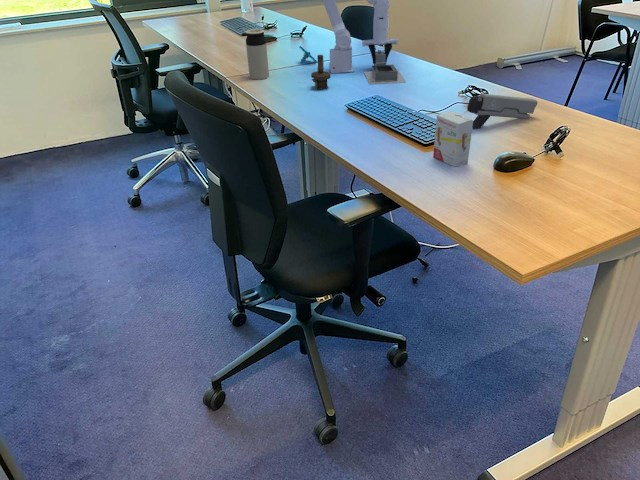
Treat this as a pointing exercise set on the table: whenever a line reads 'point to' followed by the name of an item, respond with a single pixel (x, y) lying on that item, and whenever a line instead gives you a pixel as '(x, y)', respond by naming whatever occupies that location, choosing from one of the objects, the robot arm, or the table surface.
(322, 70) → the industrial component
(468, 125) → the ink box
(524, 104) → the gun
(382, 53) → the servo
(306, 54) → the teal angled stand
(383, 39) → the robot arm
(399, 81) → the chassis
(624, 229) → the table surface
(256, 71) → the travel mug
